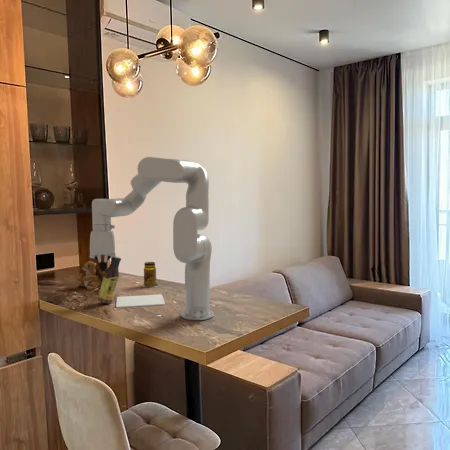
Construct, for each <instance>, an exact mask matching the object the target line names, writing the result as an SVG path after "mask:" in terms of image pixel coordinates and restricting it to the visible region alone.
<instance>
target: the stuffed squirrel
mask: <svg viewBox="0 0 450 450" xmlns="http://www.w3.org/2000/svg"><path fill="white" fill-rule="evenodd" d="M108 268H109V267H107V269H108ZM107 269H105V271H106V270H107ZM81 270H83V271H84V272H82V273H80V274H79V278H80V279H82V280H83V282H80V283H78V286H81V287H82V288H84V287H85V288H86V289H87V290H93V288H94V289H97V288H98V287H101V284H102V281H103V277H104V274H105V272H104V271H103V272H101V270H99V266H98V267H97V262H93V261H92V260H89V261H86V262H85V263H84V264H83V266H81Z"/></svg>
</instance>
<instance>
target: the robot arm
mask: <svg viewBox="0 0 450 450" xmlns="http://www.w3.org/2000/svg"><path fill="white" fill-rule="evenodd" d="M162 182H164V183H170V184H171V183H175V184H187V190H186V193H185V206H184V207H182V208H179V209H178V210H177V211H176V213H175V214H174V217H173V221H172V222H173V224H172V225H173V226H172V240H173V241H172V245H173V246H172V247H173V254H174V256H175V259H176V260H177V261H179V262H180V263H182V264H185V266H184V305H185V306H184V310H182V311H181V313H180V317H181V318H183V319H184V320H189V321H205V320H208V319H211V318H213V317H214V316H215V313H214V311H213V310H212V309H211V303H210V302H211V299H210V297H211V293H210V291H211V288H210V287H211V286H210V285H211V284H210V283H211V282H210V281H211V280H210V279H211V277H210V275H211V274H210V270H211V257H212V252H213V251H212V250H213V249H212V242H211V240H210V239H209V238H208V236H206V235H205V234H202V233H201V234H200V233H198V232H200V231H203V230H204V229H205V230H206V228H207V226H208V224H209V220H210V219H209V217H210V216H209V212H210V211H209V206H210V205H209V204H210V203H209V202H210V200H209V188H210V187H209V186H210V184H209V183H210V182H209V175H208V173H207V171H206V169H205V168H204V167H203V166H202V165H201V164H199V163H197V162H195V161H191V160H186V159H174V158H161V157H155V156H154V157H153V156H145V157H143V158H142V159H141V160H140V161H139V162H138V163H137V174H135V175H134V176H133V177H132V178H131V180H130V185H131V188H132V190H131V191H130V192H129V193H128V194H127V195H126V196H125V197H123V198H120V197H118V198H94V199H93V200H92V202H91V213H92V214H91V216H92V219H91V220H92V231H90V238H89V258H90V259H95V260H96V261H97V262H98V267H99V270H101V272H103V271H104V272H105V269H107V268H108V266H107V265H108V263H107V262H108V261H109V260H111V258H112V257H115V256H116V257H117V255H116V241H115V234H114V229H115V224H112V218H117V217H119V218H120V217H126V216H130V215H131V214H133V213H134V212H135V211H137V210H138V209H139V208H140V207H141V206H142V205H143V204H144V203H145V201H146V198H147V195H148V194H149V193H151V192H152V191H153V190H154V189H155V188H156V187H158V185H160V183H162ZM112 229H113V230H112ZM102 256H104V259H102Z"/></svg>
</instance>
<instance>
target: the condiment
mask: <svg viewBox="0 0 450 450" xmlns="http://www.w3.org/2000/svg"><path fill="white" fill-rule="evenodd" d="M159 284H160V283H159V282H157V268H156V262H154V261H145V262H144V268H143V286H142V288H158V286H159Z"/></svg>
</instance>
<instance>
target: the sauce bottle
mask: <svg viewBox="0 0 450 450" xmlns="http://www.w3.org/2000/svg"><path fill="white" fill-rule="evenodd" d="M121 260H122V258H121V257H120V256H117V255H116V256H115V257H112V258H110V264H109V266H108V267H107V268H108V269H107V270H106V271H105V274H104V277H103V281H102V284H101V286H100V289H99V292H98V298H97V301H98V302H100V303H102V304H112V302H113V300H114V297H115V292H116V289H117V286H118V282H119V278H120V275H119V274H120V272H119V271H120V270H119V266H120V263H121Z"/></svg>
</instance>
